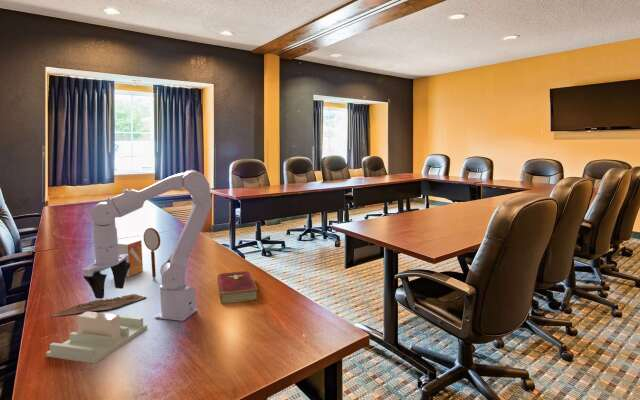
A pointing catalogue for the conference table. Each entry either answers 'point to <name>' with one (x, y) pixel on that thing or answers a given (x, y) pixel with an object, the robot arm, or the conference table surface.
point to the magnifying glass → (152, 245)
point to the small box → (132, 255)
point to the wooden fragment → (101, 304)
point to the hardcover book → (236, 286)
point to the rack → (96, 342)
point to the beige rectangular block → (99, 324)
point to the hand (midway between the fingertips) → (109, 292)
